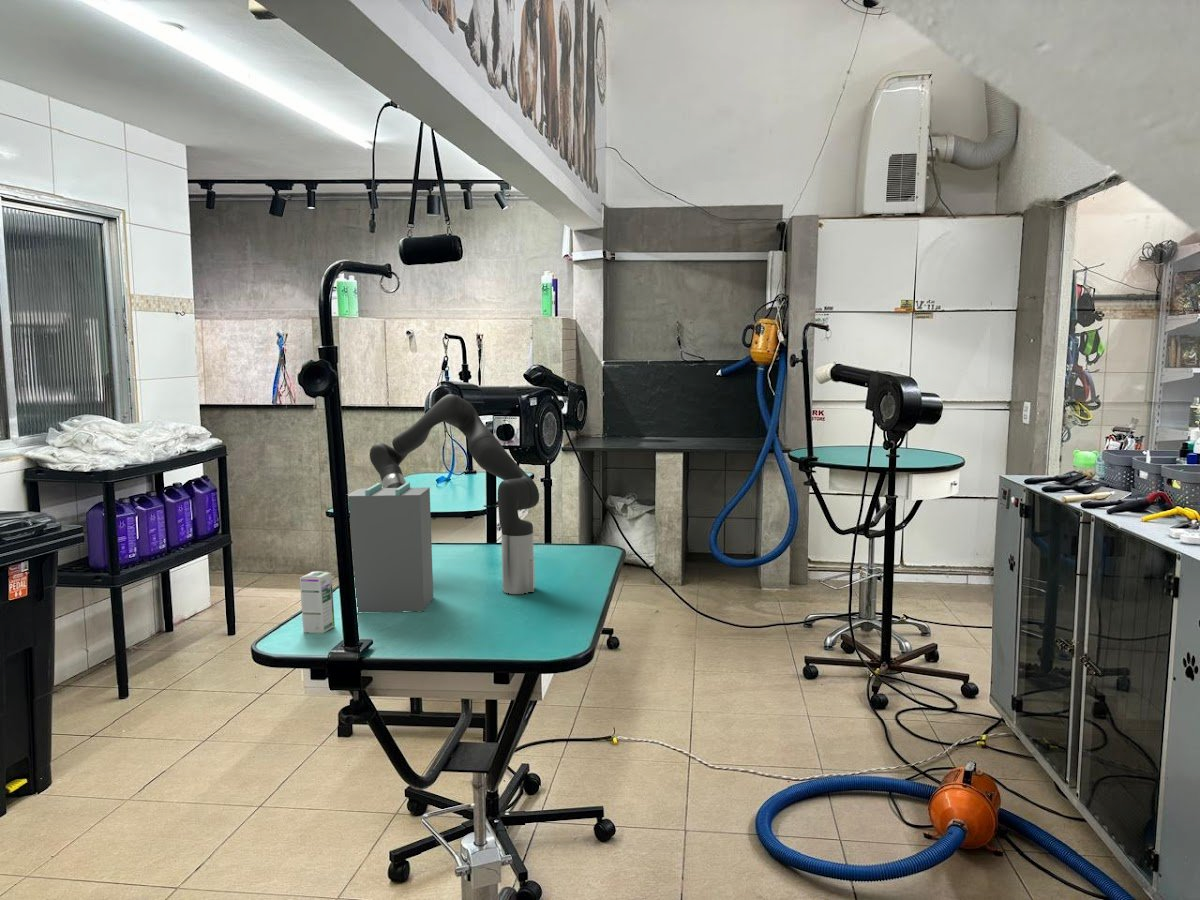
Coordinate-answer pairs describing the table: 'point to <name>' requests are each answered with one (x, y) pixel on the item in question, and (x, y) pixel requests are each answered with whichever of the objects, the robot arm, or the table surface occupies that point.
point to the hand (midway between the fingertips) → (407, 526)
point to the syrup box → (317, 602)
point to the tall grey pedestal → (391, 548)
